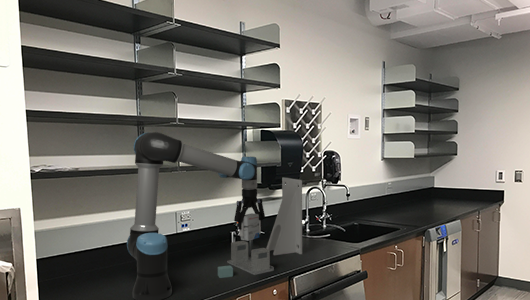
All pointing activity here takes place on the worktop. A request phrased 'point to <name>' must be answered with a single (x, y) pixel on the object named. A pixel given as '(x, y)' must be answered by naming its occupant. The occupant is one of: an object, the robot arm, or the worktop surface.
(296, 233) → the grey mounting bracket
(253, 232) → the ink box
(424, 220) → the worktop surface
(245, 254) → the box holder
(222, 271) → the block
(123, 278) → the worktop surface
